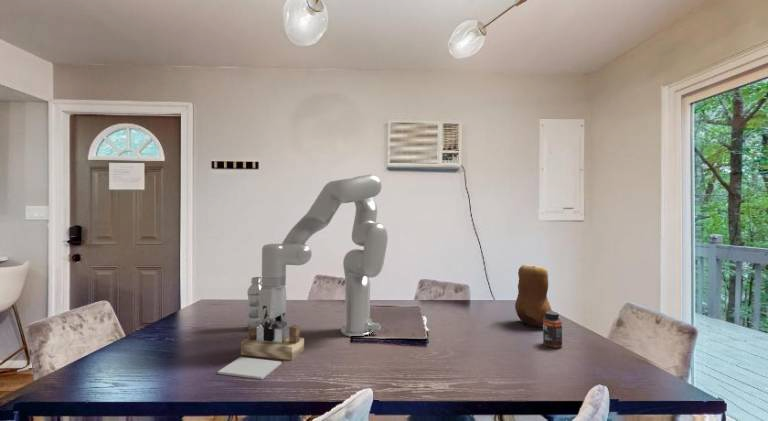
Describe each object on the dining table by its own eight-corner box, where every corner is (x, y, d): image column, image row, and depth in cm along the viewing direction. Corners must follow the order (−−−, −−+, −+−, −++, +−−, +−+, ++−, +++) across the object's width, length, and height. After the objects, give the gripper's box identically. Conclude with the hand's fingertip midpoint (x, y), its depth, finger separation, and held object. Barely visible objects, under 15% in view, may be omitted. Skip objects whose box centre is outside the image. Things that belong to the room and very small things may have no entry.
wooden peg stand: (303, 350, 111) (304, 322, 111) (292, 360, 103) (292, 330, 103) (255, 345, 115) (256, 318, 115) (240, 354, 107) (241, 326, 107)
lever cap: (289, 338, 110) (289, 320, 110) (281, 343, 105) (282, 325, 105) (265, 335, 112) (265, 318, 112) (256, 341, 107) (256, 323, 107)
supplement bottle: (564, 345, 116) (564, 312, 116) (559, 350, 111) (559, 316, 112) (546, 340, 120) (546, 309, 120) (540, 345, 116) (540, 312, 116)
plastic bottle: (259, 332, 128) (259, 279, 128) (243, 330, 129) (244, 279, 129) (268, 326, 134) (268, 276, 134) (253, 325, 135) (253, 276, 136)
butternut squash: (553, 323, 140) (553, 263, 140) (549, 332, 128) (549, 267, 129) (518, 318, 147) (518, 261, 147) (511, 326, 136) (511, 264, 136)
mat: (281, 363, 100) (281, 361, 100) (261, 379, 91) (261, 377, 91) (240, 358, 103) (240, 357, 103) (217, 373, 94) (217, 371, 94)
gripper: (277, 276, 118) (277, 328, 118) (247, 286, 102) (247, 346, 101) (296, 277, 117) (296, 329, 116) (269, 287, 100) (269, 348, 100)
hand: (273, 336), depth 109 cm, fingers closed on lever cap, 5 cm apart
